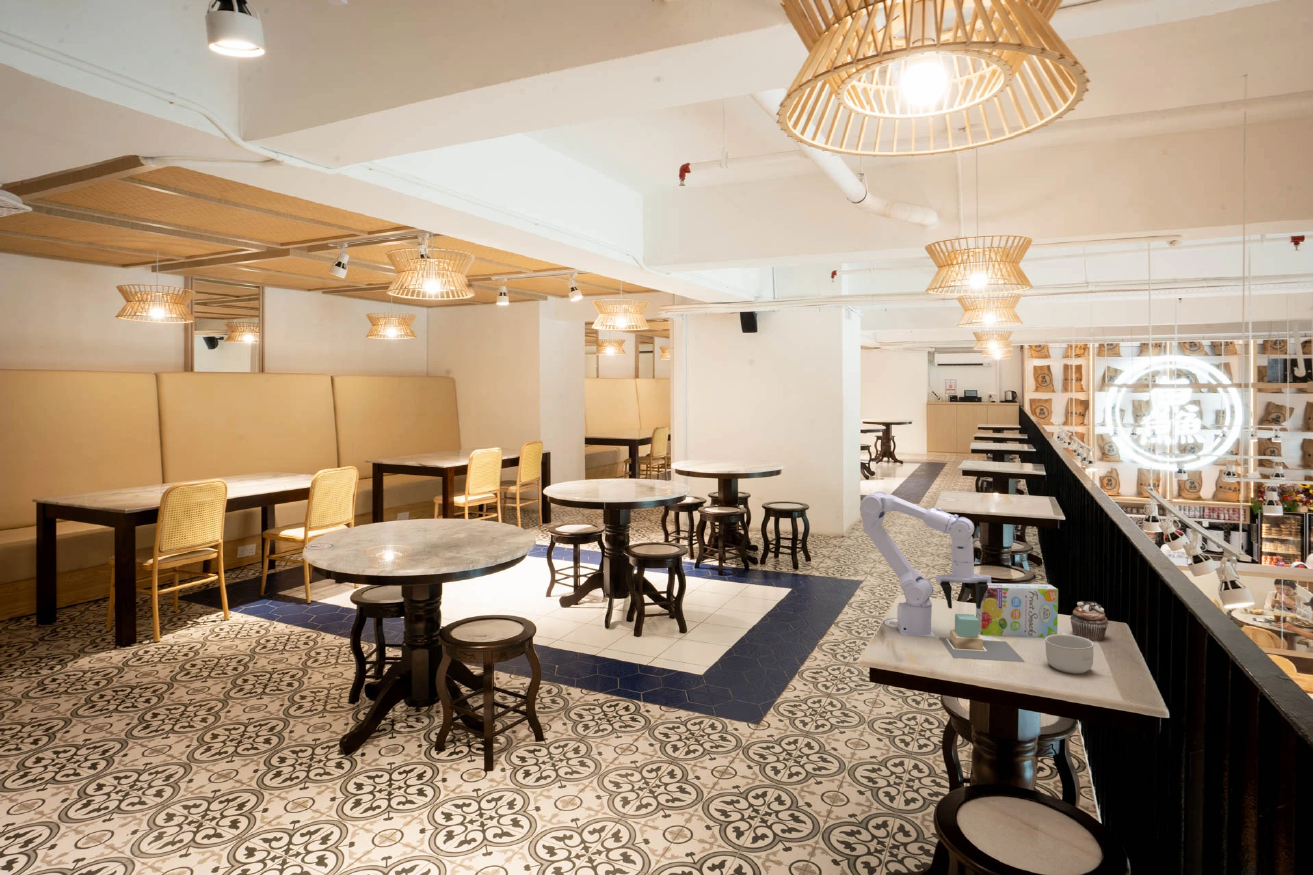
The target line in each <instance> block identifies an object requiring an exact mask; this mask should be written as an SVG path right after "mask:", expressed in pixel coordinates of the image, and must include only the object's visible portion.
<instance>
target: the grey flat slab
mask: <svg viewBox="0 0 1313 875" xmlns="http://www.w3.org/2000/svg"><path fill="white" fill-rule="evenodd" d="M939 639H940V641H941V642H942V643H943V645H944V647H945V648H946V650H947V652H948V653H949V654H950V655H951V657H952V658H953V659H963V660H964V659H965V660H966V659H967V660H980V661H981V660H983V661H996V662H998V661H999V662H1015V663H1016V662H1017V663H1026V660H1024V659H1023V658H1022V657H1021V655H1019V654H1018V653H1017V652H1016V650H1015V649H1014V648H1013V647H1012V646H1011V645H1010V644H1009V643H1008V642H1007V641H1004V640H1002V641H1001V640H986V639H983V650H973V649H956V648H955V646H954V645H953V644H952V642H951V641H950V637H948V638H947V637H939Z"/></svg>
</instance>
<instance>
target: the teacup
mask: <svg viewBox="0 0 1313 875" xmlns="http://www.w3.org/2000/svg"><path fill="white" fill-rule="evenodd" d="M1044 642H1045V656H1046V661H1047V663H1048V664H1049V665H1050V666H1051V667H1052V668H1054V669H1055V670H1057V671H1060V672H1062V673H1067V674H1075V675H1081V674H1085V673H1086V672H1087V671H1089V670H1091V668H1092V667H1093V665H1094V647H1095V644H1094V641H1091V640H1089V639H1086V638H1083V637H1079V636H1074V635H1073V634H1068V633H1066V632H1061V633H1059V634H1058V633H1057V634H1056V635H1050V636H1047V637H1044Z"/></svg>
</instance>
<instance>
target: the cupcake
mask: <svg viewBox="0 0 1313 875" xmlns="http://www.w3.org/2000/svg"><path fill="white" fill-rule="evenodd" d="M1076 604H1077V606H1076V607H1075V608H1074V609H1073V610H1072V614H1071V615H1070V617H1069V619H1070V624H1071V629H1072V635H1074V636H1079V637H1083V638H1086V639H1089V640H1090V641H1092V642H1097V641H1099V642H1101V641H1104V640H1105V636H1106V631H1107V628H1108V626H1109V619H1108V618H1107V617H1106V613H1105V609H1104V608H1103V607H1102V605H1101V604H1098V603H1097V601H1083V600H1080V601H1077V603H1076Z"/></svg>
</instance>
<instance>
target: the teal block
mask: <svg viewBox="0 0 1313 875" xmlns="http://www.w3.org/2000/svg"><path fill="white" fill-rule="evenodd" d="M954 630H955V632H956V633H957V635H958V636H959V637H970V638H978V634H980V633H979V620H978V619H977V618H976V615H975V614H966V613H962V614H961V613H955V614H954Z"/></svg>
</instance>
